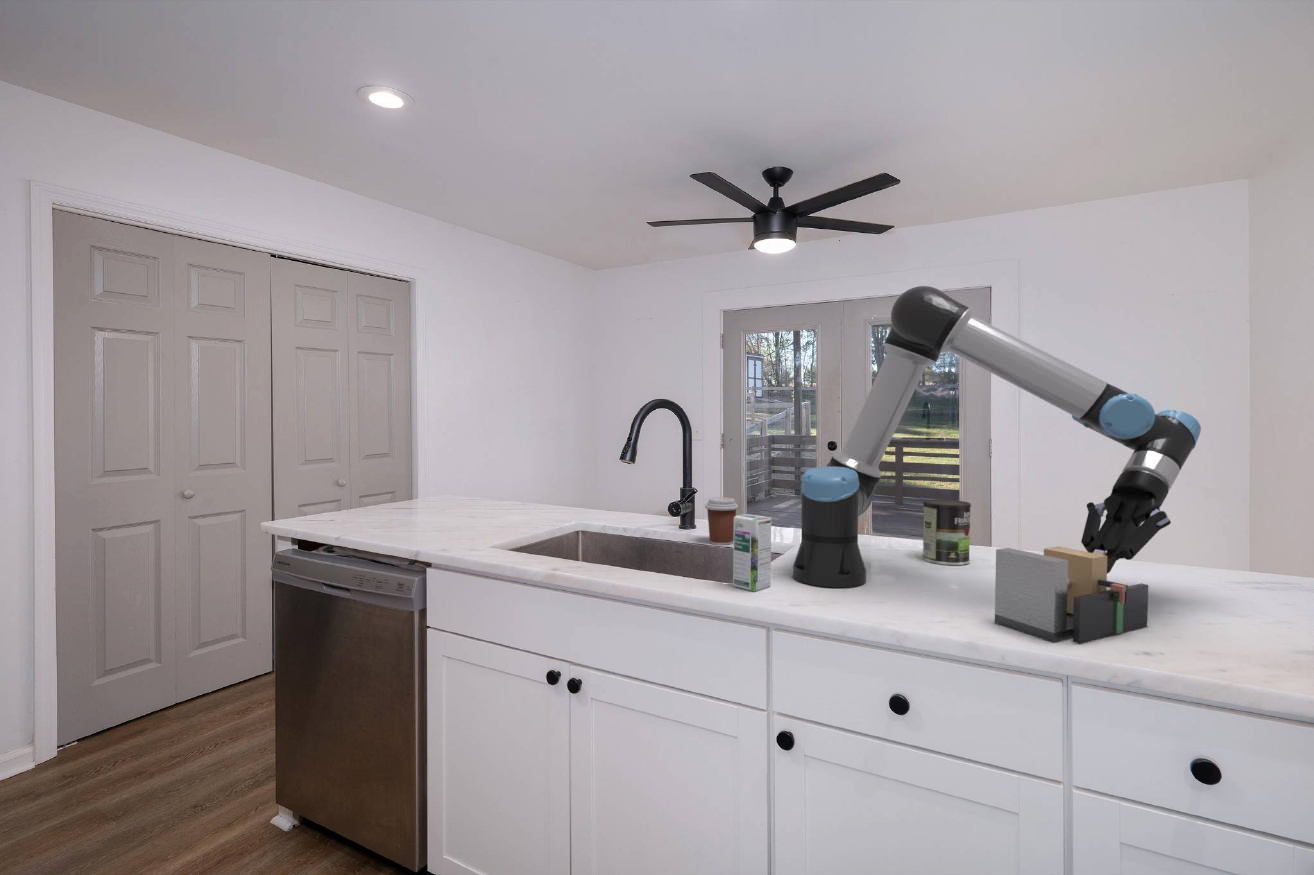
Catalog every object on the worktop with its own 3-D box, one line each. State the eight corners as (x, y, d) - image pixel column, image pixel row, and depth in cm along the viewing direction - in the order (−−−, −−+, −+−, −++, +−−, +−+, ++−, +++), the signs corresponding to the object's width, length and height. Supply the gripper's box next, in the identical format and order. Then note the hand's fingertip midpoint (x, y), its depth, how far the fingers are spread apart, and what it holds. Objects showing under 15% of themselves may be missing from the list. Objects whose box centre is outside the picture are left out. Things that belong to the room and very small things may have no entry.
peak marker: (1114, 600, 99) (1114, 583, 99) (1125, 603, 98) (1126, 586, 98) (1110, 601, 99) (1110, 584, 99) (1121, 604, 97) (1122, 587, 97)
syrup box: (731, 586, 127) (732, 516, 126) (749, 581, 131) (749, 512, 130) (754, 592, 123) (754, 519, 122) (772, 586, 127) (772, 516, 126)
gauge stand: (1076, 605, 114) (1077, 538, 114) (1152, 626, 103) (1154, 551, 102) (994, 622, 105) (996, 549, 104) (1069, 647, 94) (1071, 565, 93)
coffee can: (978, 561, 148) (979, 502, 147) (955, 568, 142) (956, 506, 141) (936, 553, 156) (937, 497, 155) (913, 559, 150) (914, 501, 149)
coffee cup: (729, 547, 163) (729, 502, 163) (698, 543, 168) (699, 499, 168) (743, 541, 171) (744, 498, 170) (713, 538, 176) (714, 495, 175)
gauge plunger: (1057, 602, 110) (1058, 546, 110) (1133, 623, 99) (1135, 561, 99) (1019, 610, 106) (1021, 551, 105) (1095, 633, 95) (1097, 568, 94)
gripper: (1195, 500, 108) (1137, 608, 102) (1114, 491, 120) (1057, 588, 114) (1179, 471, 106) (1119, 579, 100) (1097, 465, 118) (1039, 562, 111)
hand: (1086, 584), depth 107 cm, fingers closed
